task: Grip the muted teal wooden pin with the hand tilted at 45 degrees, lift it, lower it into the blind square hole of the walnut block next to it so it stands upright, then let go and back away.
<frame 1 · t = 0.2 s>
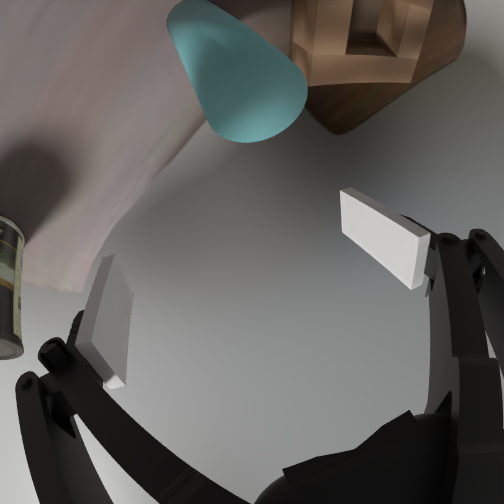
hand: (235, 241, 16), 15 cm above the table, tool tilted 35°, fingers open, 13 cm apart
walnut hole block: (351, 12, 18), on the table
teal pin: (193, 20, 16), on the table
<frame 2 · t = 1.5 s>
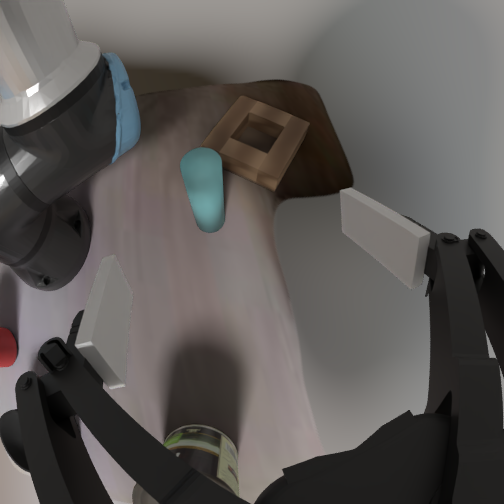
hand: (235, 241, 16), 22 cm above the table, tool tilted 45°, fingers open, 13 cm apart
coffee can: (200, 455, 31), on the table
walnut hole block: (255, 147, 43), on the table
teal pin: (210, 219, 40), on the table
beer can: (7, 347, 32), on the table
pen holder: (59, 428, 30), on the table
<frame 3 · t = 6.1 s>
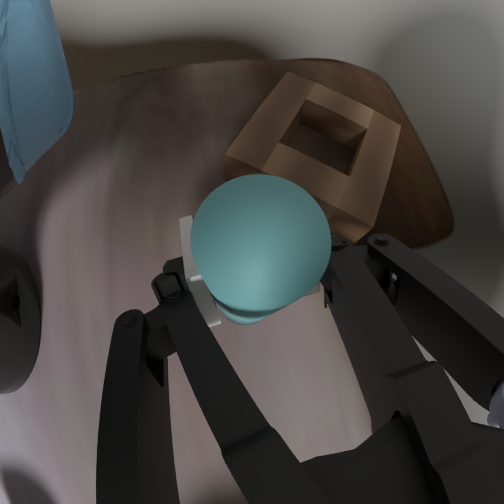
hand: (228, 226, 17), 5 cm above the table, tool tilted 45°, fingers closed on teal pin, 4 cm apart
walnut hole block: (315, 160, 25), on the table
teal pin: (244, 298, 21), on the table, touching gripper
when the fingers open (7 cm above the table, at t = 12.0 s): teal pin stays where it is, resting on walnut hole block.
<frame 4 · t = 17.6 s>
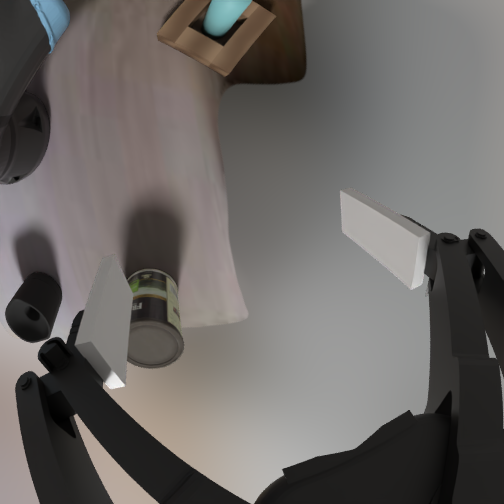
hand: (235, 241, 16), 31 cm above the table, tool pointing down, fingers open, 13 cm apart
coffee can: (150, 291, 51), on the table
walnut hole block: (214, 28, 33), on the table
teal pin: (214, 28, 32), resting on walnut hole block
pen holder: (43, 290, 44), on the table
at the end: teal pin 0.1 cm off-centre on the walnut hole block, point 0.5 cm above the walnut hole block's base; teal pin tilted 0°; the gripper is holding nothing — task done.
